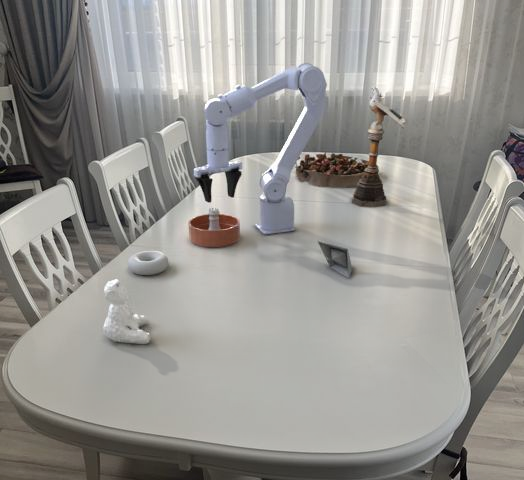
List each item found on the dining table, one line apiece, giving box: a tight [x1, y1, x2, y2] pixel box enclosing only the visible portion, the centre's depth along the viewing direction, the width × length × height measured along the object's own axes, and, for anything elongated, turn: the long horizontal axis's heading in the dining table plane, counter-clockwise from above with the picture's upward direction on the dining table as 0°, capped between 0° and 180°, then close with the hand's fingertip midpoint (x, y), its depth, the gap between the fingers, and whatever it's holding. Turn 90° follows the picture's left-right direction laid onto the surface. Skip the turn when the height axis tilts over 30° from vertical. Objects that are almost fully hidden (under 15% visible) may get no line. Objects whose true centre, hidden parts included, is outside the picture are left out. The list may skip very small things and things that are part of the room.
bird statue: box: [351, 86, 407, 208], centre depth 173 cm, size 17×13×35 cm
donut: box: [127, 250, 170, 276], centre depth 135 cm, size 10×4×10 cm
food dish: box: [293, 152, 380, 188], centre depth 209 cm, size 35×33×8 cm
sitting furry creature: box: [102, 278, 151, 345], centre depth 105 cm, size 10×9×12 cm
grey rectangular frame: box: [317, 241, 353, 279], centre depth 134 cm, size 12×6×9 cm
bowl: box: [187, 213, 241, 248], centre depth 152 cm, size 14×14×5 cm
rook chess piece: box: [207, 207, 221, 230], centre depth 151 cm, size 4×4×8 cm
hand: (219, 199), depth 153 cm, fingers open, 7 cm apart
